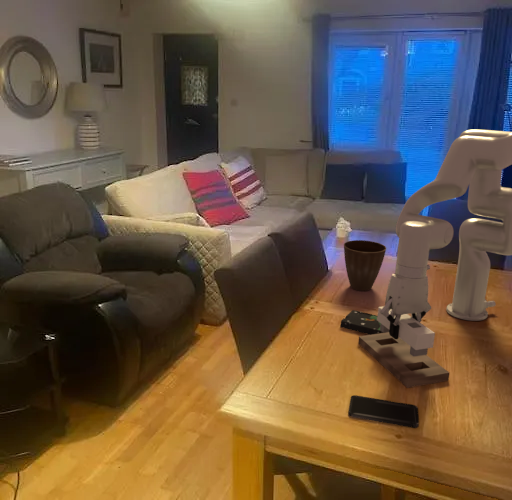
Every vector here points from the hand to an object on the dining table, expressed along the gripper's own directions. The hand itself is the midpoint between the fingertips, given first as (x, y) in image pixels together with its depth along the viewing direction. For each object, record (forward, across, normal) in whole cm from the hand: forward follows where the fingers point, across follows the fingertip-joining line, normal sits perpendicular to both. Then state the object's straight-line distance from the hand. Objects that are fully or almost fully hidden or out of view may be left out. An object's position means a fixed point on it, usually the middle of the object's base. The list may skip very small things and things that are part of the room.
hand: (403, 335), depth 135 cm
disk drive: (+8, -3, -21) cm, 23 cm away
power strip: (+2, 0, 0) cm, 2 cm away
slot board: (+8, 0, 0) cm, 8 cm away
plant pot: (+7, -17, -51) cm, 54 cm away
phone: (+8, +17, +19) cm, 27 cm away
